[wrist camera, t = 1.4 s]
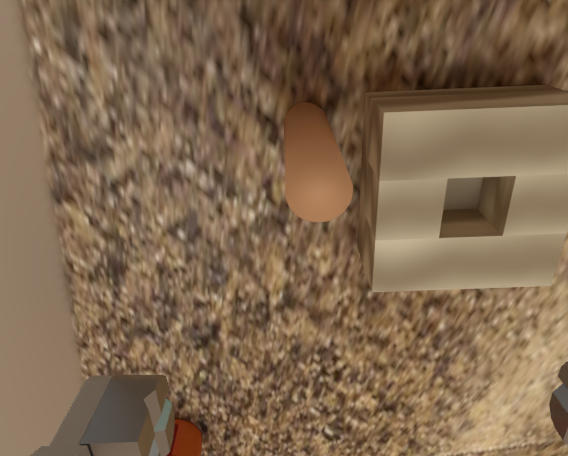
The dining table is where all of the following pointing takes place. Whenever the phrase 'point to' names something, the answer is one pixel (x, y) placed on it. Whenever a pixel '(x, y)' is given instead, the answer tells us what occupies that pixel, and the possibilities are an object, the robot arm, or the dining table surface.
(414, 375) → the dining table surface
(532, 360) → the dining table surface
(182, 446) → the paper cup
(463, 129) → the bore block
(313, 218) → the dowel pin
